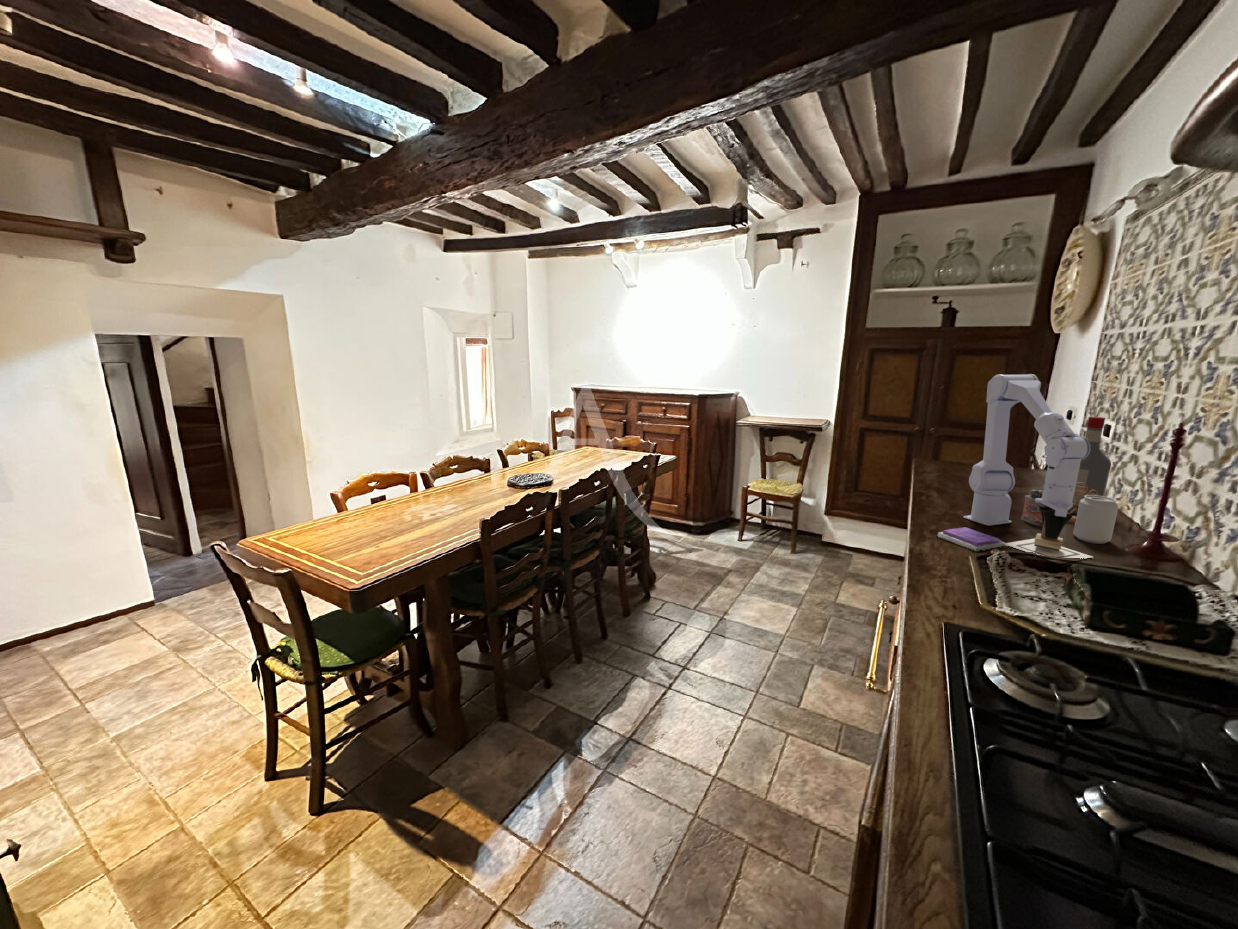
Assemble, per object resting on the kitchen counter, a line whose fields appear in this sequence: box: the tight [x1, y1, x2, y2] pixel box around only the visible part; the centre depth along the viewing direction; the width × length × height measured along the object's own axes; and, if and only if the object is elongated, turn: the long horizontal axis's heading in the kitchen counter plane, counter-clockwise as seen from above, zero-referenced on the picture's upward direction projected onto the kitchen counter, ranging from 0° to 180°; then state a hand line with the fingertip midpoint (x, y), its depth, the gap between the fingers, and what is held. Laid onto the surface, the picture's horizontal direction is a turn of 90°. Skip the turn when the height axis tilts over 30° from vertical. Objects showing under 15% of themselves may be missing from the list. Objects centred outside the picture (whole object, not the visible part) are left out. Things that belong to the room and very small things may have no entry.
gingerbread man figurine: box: [1067, 482, 1098, 523], centre depth 144 cm, size 9×4×12 cm, turn 51°
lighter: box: [1020, 489, 1044, 528], centre depth 143 cm, size 8×3×10 cm, turn 5°
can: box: [1072, 495, 1120, 545], centre depth 129 cm, size 8×8×12 cm
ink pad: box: [937, 526, 1006, 552], centre depth 130 cm, size 10×11×2 cm
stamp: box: [1034, 520, 1064, 551], centre depth 122 cm, size 5×5×7 cm
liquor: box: [1067, 416, 1112, 515], centre depth 151 cm, size 9×9×30 cm
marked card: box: [1004, 538, 1094, 560], centre depth 123 cm, size 12×13×1 cm
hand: (1049, 535), depth 122 cm, fingers closed on stamp, 3 cm apart
